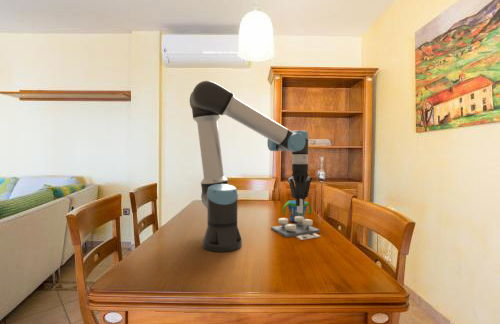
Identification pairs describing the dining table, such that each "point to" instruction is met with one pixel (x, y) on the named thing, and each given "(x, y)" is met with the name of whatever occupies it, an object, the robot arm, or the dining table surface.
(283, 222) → the button
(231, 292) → the dining table surface
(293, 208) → the snack cup
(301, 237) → the pattern tile
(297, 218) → the button
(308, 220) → the button
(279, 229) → the button board
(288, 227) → the button
